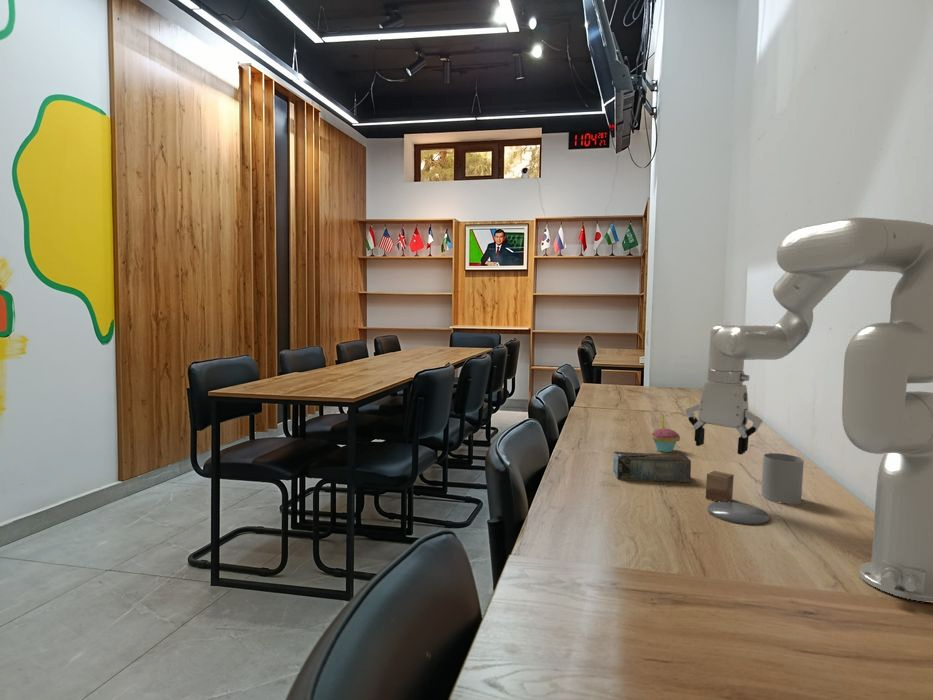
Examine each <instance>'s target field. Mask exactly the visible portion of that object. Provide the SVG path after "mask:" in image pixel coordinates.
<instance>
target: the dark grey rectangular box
mask: <svg viewBox="0 0 933 700" xmlns="http://www.w3.org/2000/svg"><path fill="white" fill-rule="evenodd" d="M691 462H692V461H691V459H690V458H689V457H688V456H686V455H684V454H683V453H677V452H662V453H657V452H655V453H652V452H651V453H650V452H629V451H628V452H627V451H614V452H613V463H612V467H613V471H612V472H613V474H614V473H615V474H614V475H615V477H616V479H617V480H626V479H627V480H629V481H647V482H649V481H650V482H671V483H690V482H691V476H692V475H691V471H692V463H691Z"/></svg>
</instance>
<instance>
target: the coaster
mask: <svg viewBox="0 0 933 700" xmlns="http://www.w3.org/2000/svg"><path fill="white" fill-rule="evenodd" d="M707 512H708V513H709V514H710V515H711V516H713V517H715V518H717V519H720V520H722V519H723V521H727V522H729V523H734V524H739V523H740V524H741V525H748V524H758V525H763V524H762V523H764V524H766V523H768V522H769V520H770V515H769V513H768V512H766V511H765V510H763V509H761V508H759V507H756V506H754V505H749V504H746V503H741V502H731V501H728V502H717V501H714V502H711V503H709V504H708V506H707ZM767 521H768V522H767ZM765 522H766V523H765Z"/></svg>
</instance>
